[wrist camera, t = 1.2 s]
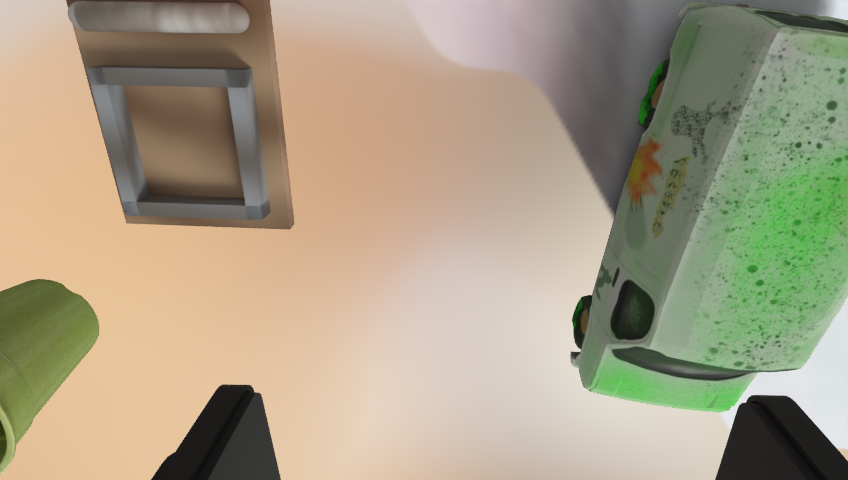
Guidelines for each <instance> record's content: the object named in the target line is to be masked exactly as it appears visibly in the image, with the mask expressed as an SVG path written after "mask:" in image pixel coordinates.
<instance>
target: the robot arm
mask: <svg viewBox="0 0 848 480" xmlns="http://www.w3.org/2000/svg"><path fill="white" fill-rule="evenodd" d="M151 480H281V479H280V474H279V470H278V466H277V461H276V457H275V452H274V448H273V444H272V439H271V435H270V431H269V426H268V422H267V417H266V414H265V409H264V405H263V400H262V397H261V394H260V393H254V390H253V388H252V387H251V386H250V385H221V386H219V388H218V389H217V390H216V391H215V393H214V394H213V396H212V397H211V399H210V400H209V402H208V403H207V405H206V406H205V408H204V409H203V411H202V412H201V414H200V416H199V417H198V418H197V420H196V422H195V423H194V425H193V426H192V428H191V429H190V431H189V432H188V434H187V435H186V437H185V438H184V440H183V441H182V443H181V444H180V446H179V448H178V449H177V450H176V452H175V453H173V454H171V455H170V456H168V457H167V459H166V460H165V461H164V462H163V463H162V464H161V466H160V467H159V469H158V470H157V472H156V473H155V475H154V476H153V478H152V479H151ZM715 480H848V461H847V460H846V459H845V458H844V456H843V455H842V454H841V453H840V452H839V451H838V450H837V449H836V447H835V446H834V445H833V444H832V443H831V442H830V441H829V440H828V438H827V437H826V436H825V435H824V434H823V433H822V432H821V430H820V429H819V428H818V427H817V426H816V425H815V424H814V423H813V421H812V420H811V419H810V418H809V417H808V416H807V415H806V414H805V412H804V411H803V410H802V409H801V408H800V407H799V406H798V405H797V403H796V402H795V401H793V400H792V399H791V398H789V397H787V396H768V395H752V396H750V397H749V398H748V400H747V402H746V403H742V404H740V405H739V407H738V410H737V413H736V416H735V419H734V423H733V426H732V429H731V432H730V435H729V438H728V442H727V445H726V448H725V451H724V454H723V457H722V460H721V464H720V467H719V470H718V473H717V476H716V479H715Z"/></svg>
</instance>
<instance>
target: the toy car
mask: <svg viewBox="0 0 848 480" xmlns="http://www.w3.org/2000/svg"><path fill="white" fill-rule="evenodd" d="M688 8H693V9H697V10H691V11H689V12H688V13H687V14H686V15H685V13H686V12H687V10H688ZM684 15H685V16H684ZM678 17H679V19H681V18H683V17H684V18H683V20H682V22H681V24H680V26H679V28H678V31H677V33H676V36H675V38H674V41H673V44H672V46H671V49H670V52H669V53H670V60H666V61H663V62H662V63H661V64H660V65H659V67H658V68H657V70H656V71H655V73H654V74H653V76H652V78H651V80H650V84H649V87H648V93H647V94H646V96H645V97H644V99H643V100H642V103H641V108H640V113H639V117H638V121H639V123H640V124H641V125H642V126H644V127H645V128H647V130H646V131H645V132H644V133H643V134H642V137H641V140H640V142H639V145H638V148H637V151H636V153H635V156H634V159H633V162H632V164H631V167H630V170H629V173H628V176H627V178H626V181H625V184H624V187H623V190H622V193H621V197H620V200H619V204H618V207H617V211H616V214H615V218H614V221H613V225H612V228H611V232H610V235H609V239H608V243H607V246H606V249H605V253H604V256H603V260H602V263H601V267H600V270H599V274H598V277H597V280H596V283H595V287H594V290H593V294H592V295H588V296H584V297H581V299H580V300H579V302H578V303H577V306H576V308H575V311H574V314H573V318H572V322H573V327H574V339H575V343H576V345H577V346H578V348H580V349H581V352H571V363H572V365H573V366H574V367H577V368H579V373H580V377H581V381H582V384H583V386H584V388H586V389H589V391H590V392H594V393H598V394H603V395H607V396H611V397H616V398H620V399H625V400H630V401H636V402H641V403H646V404H652V405H658V406H665V407H672V408H680V409H689V410H699V411H712V412H723V411H728V410H729V409H730V408H731V406H734V405H735V404H736V402H737V401H738V399H739V398H740V396H741V395H742V394H743V392H744V391H745V389H746V388H747V387H748V385H749V384H750V383H751V381H752V380H753V379H754V377H755V376H756V375H757V373H758V372H778V371H789V370H796V369H800V368H801V367H802V366H803V365H804V364H805V363H806V362H807V360H808V359H809V357H810V355H811V354H812V352H813V351H814V349H815V348H816V346H817V344H818V343H819V341H820V340H821V338H822V337H823V335H824V333H825V332H826V330H827V329H828V327H829V325H830V323H831V322H832V320H833V319H834V317H835V316H836V315H837V313H838V312H839V310H840V309H841V307H842V305H843V303H844V301H845V300H846V298H847V296H848V20H842V19H837V18H832V17H826V16H813V15H805V14H798V13H791V12H784V11H776V10H768V9H759V8H751V7H749V6H748V5H742V4H738V5H736V6H734V5H725V4H717V3H708V2H689V3H688V4H686V5H685V6H684V7H683V8H682V9H681V10H680V11H679V13H678Z"/></svg>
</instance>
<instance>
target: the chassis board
mask: <svg viewBox="0 0 848 480" xmlns="http://www.w3.org/2000/svg"><path fill="white" fill-rule="evenodd" d="M66 1H67V5H68V8H69V9H68V16H69V19H70V21H71V22H72V23H73V27H74V31H75V34H76V38H77V42H78V45H79V49H80V53H81V57H82V60H83V64H84V67H85V71H86V75H87V79H88V82H89V86H90V90H91V94H92V97H93V101H94V105H95V108H96V112H97V115H98V119H99V123H100V127H101V131H102V134H103V138H104V141H105V145H106V149H107V153H108V157H109V160H110V164H111V168H112V171H113V175H114V179H115V182H116V186H117V190H118V194H119V197H120V201H121V205H122V208H123V212H124V215H125V219H126V223H132V224H133V223H134V224H160V225H162V224H163V225H188V226H214V227H240V228H267V229H268V228H269V229H291V227H292V226H293V225H294V216H293V207H292V198H291V189H290V180H289V171H288V162H287V153H286V144H285V135H284V126H283V117H282V107H281V98H280V89H279V80H278V71H277V62H276V54H275V44H274V35H273V26H272V17H271V8H270V0H66Z"/></svg>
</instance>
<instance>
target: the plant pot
mask: <svg viewBox="0 0 848 480" xmlns="http://www.w3.org/2000/svg"><path fill="white" fill-rule="evenodd" d="M98 335H99V324H98V319H97V316H96V314H95V312H94V311H93V309H92V308H91V306H90V305H89V303H88V302H87V301H86V300H85V299H84V298H83V297H82V296H80V295H78V294H75V293H73V292H71V291H70V290H68V289H67V288H66V287H65V286H64V285H62V284H60V283H58V282H55V281H51V280H44V279H36V280H31V281H27V282H25V283H22V284H20V285H17V286H14V287H12V288H9V289H6V290H3V291H1V292H0V474H1V473H2V472H3V471H4V470H5V469H6V468H7V467H8V466H9V464H10V463H11V461H12V459H13V457H14V454H15V450H16V444H17V443H18V441H19V440H20V439H21V438H22V436H23V435H24V434H25V432H26V431H27V430H28V429H29V427H30V426H31V424H32V421H33V419H34V417H35V416H36V415H37V414H38V412H39V411H40V410H41V409H42V407H43V406H44V405H45V404H46V403H47V401H48V400H49V399H50V397H51V396H52V395H53V394H54V393H55V391H56V390H57V389H58V388H59V387H60V385H61V384H62V383H63V382H64V381H65V379H66V378H67V377H68V376H69V374H70V373H71V372H72V371H73V370H74V368H75V367H76V366H77V365H78V364H79V362H80V361H81V360H82V358H84V356H85V355H86V354H87V353H88V352H89V350H90V349H91V348H92V346H93V345H94V344H95V342H96V340H97V337H98Z"/></svg>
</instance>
